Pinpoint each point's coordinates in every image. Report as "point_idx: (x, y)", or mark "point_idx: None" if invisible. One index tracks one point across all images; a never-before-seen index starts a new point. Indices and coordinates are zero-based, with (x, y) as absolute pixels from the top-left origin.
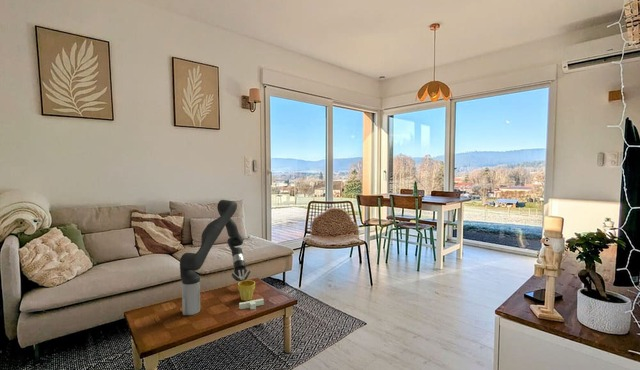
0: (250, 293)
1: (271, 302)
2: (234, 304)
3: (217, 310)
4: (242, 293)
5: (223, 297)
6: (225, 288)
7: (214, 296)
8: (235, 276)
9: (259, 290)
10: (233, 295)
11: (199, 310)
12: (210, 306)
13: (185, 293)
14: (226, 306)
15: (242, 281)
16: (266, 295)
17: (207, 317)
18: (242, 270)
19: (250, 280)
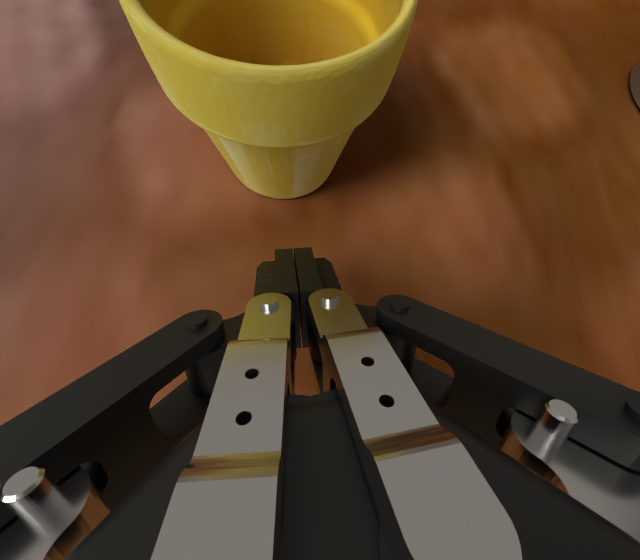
0: (247, 38)
1: (97, 15)
2: (394, 90)
3: (511, 54)
4: (336, 45)
5: (492, 250)
6: None
7: (582, 305)
8: (490, 348)
9: (91, 296)
10: (398, 263)
11: (638, 69)
12: (572, 125)
13: None
14: (454, 83)
15: (331, 59)
16: (75, 146)
17: (557, 2)
18: (247, 553)
19: (166, 32)
